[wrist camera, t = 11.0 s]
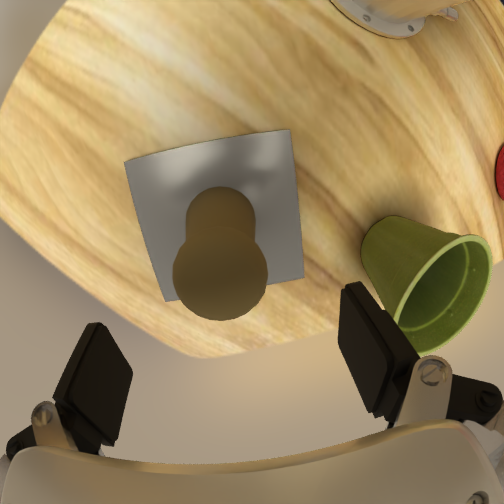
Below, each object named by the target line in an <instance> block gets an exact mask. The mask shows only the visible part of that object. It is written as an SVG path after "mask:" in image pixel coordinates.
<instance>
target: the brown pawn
mask: <svg viewBox="0 0 504 504" xmlns="http://www.w3.org/2000/svg"><path fill="white" fill-rule="evenodd" d="M255 227H256V218H255V212H254V208H253V206H252V204H251V203H250V201H249V199H248V198H246V197H245V196H244V195H243V194H242V193H241V192H239V191H237V190H235V189H233V188H230V187H221V186H218V187H213V188H208V189H206V190H204V191H203V192H201V193H199V194H198V195H197V196H196V197H195V198H194V199H193V200H192V201H191V203H190V205H189V207H188V209H187V212H186V241H185V243H184V244H183V245H182V246H181V247H180V248H179V251H178V253H177V255H176V258H175V260H174V263H173V269H172V280H173V285H174V288H175V291H176V294H177V296H178V297H179V299H180V300H181V301H182V303H183V304H184V305H185V306H186V307H187V308H188V309H189V310H191V311H192V312H194V313H195V314H196V315H198V316H200V317H203V318H206V319H209V320H218V321H225V320H231V319H235V318H238V317H240V316H242V315H244V314H246V313H247V312H249V311H250V310H251V309H252V308H253V307H254V306H256V305H257V304H258V302H259V301H260V299H261V298H262V296H263V294H264V293H265V289H266V284H267V280H268V269H267V262H266V259H265V257H264V255H263V253H262V251H261V249H260V247H259V246H258V244H257V243H256V242H255Z"/></svg>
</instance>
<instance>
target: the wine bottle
mask: <svg viewBox="0 0 504 504" xmlns="http://www.w3.org/2000/svg"><path fill="white" fill-rule="evenodd" d="M496 182H497V188H498V192H499V194H500V196H501V198H502V199H503V200H504V146H503V148H502V149H501V151H500V154H499V156H498V160H497V167H496Z"/></svg>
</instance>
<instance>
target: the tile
mask: <svg viewBox="0 0 504 504" xmlns="http://www.w3.org/2000/svg"><path fill="white" fill-rule="evenodd" d="M124 165H125V170H126V174H127V178H128V182H129V186H130V191H131V194H132V198H133V202H134V206H135V210H136V213H137V217H138V221H139V224H140V227H141V231H142V234H143V238H144V241H145V244H146V247H147V250H148V254H149V257H150V260H151V263H152V266H153V269H154V272H155V275H156V277H157V280H158V283H159V286H160V289H161V292H162V294H163V297H164V300H165V302H168V301H175V300H180V299H179V297H178V296H177V294H176V291H175V288H174V285H173V280H172V269H173V263H174V260H175V258H176V255H177V253H178V251H179V248H180V247H181V246H182V245H183V244H184V243H185V241H186V212H187V209H188V207H189V205H190V203H191V201H192V200H193V199H194V198H195V197H196V196H197V195H198V194H199V193H201V192H203V191H204V190H206V189H208V188H213V187H218V186H221V187H230V188H233V189H235V190H237V191H239V192H241V193H242V194H243V195H244V196H245V197H246V198H248V199H249V201H250V203H251V204H252V206H253V208H254V212H255V218H256V227H255V242H256V243H257V244H258V246H259V247H260V249H261V251H262V253H263V255H264V257H265V259H266V262H267V269H268V280H267V284H266V285H270V284H275V283H281V282H286V281H291V280H296V279H301V278H304V264H303V250H302V237H301V225H300V213H299V203H298V193H297V183H296V174H295V165H294V157H293V149H292V141H291V133H290V129H289V130H278V131H270V132H262V133H254V134H247V135H241V136H234V137H228V138H223V139H217V140H212V141H207V142H202V143H197V144H192V145H187V146H183V147H178V148H174V149H170V150H166V151H162V152H158V153H154V154H150V155H147V156H143V157H139V158H136V159H132V160H129V161H126V162H124Z"/></svg>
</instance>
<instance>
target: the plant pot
mask: <svg viewBox="0 0 504 504" xmlns="http://www.w3.org/2000/svg"><path fill="white" fill-rule="evenodd" d="M361 260H362V263H363V266H364V268H365V270H366V272H367V274H368V276H369V278H370V280H371V282H372V283H373V285H374V287H375V289H376V292H377V294H378V296H379V298H380V300H381V302H382V304H383V306H384V308H385V310H386V311H387V312H388V313H389V314H390V315H391V317H392V318H393V319H394V321H395V322H396V323H397V325H398V326H399V328H400V329H401V330H402V332H403V333H404V335H405V336H406V337H407V339H408V340H409V342H410V343H411V345H412V346H413V347H414V349H415V350H416V352H417V353H418V355H419V356H420V357H421V356H424V355H427V354H429V353H432V352H434V351H436V350H438V349H440V348H441V347H443V346H444V345H446V344H447V343H449V341H451V340H452V339H453V338H455V337H456V336H457V335H458V334H459V333H460V332H461V331H462V330H463V328H464V327H465V326H466V325H467V324H468V323H469V322H470V320H471V319H472V317H473V316H474V315H475V313H476V311H477V310H478V308H479V307H480V305H481V303H482V301H483V299H484V297H485V295H486V292H487V290H488V286H489V283H490V279H491V274H492V265H493V261H492V253H491V249H490V247H489V245H488V243H487V242H486V241H485V239H483V238H482V237H480V236H478V235H473V234H469V235H463V236H461V235H458V234H455V233H446V232H443V231H441V230H438V229H435V228H432V227H430V226H427V225H424V224H421V223H418V222H415V221H412V220H409V219H406V218H403V217H399V216H389V217H386V218H385V219H383V220H381V221H380V222H378V223H376V224H374V225H373V226H372V227H371V228H370V230H369V231H368V233H367V234H366V236H365V238H364V240H363V243H362V247H361Z"/></svg>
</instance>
